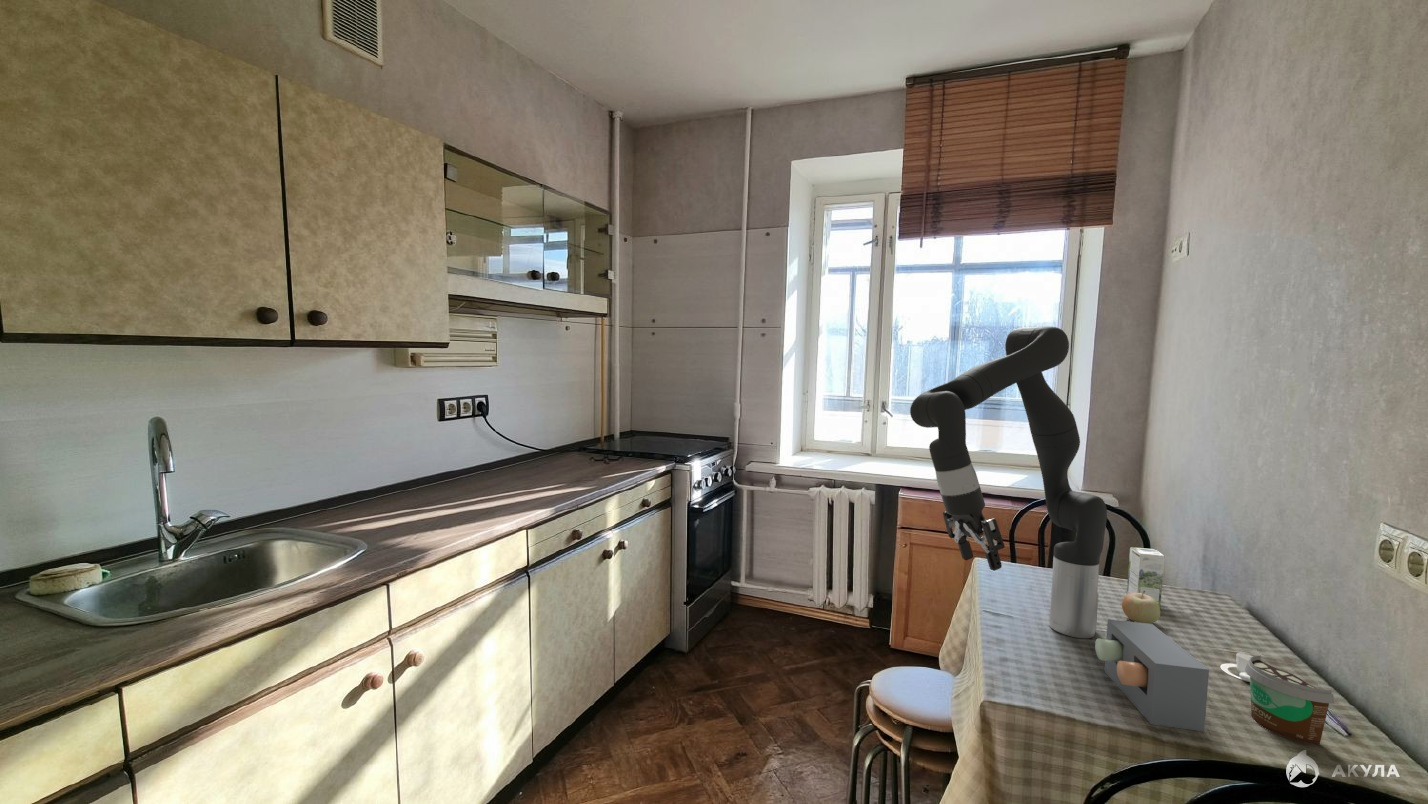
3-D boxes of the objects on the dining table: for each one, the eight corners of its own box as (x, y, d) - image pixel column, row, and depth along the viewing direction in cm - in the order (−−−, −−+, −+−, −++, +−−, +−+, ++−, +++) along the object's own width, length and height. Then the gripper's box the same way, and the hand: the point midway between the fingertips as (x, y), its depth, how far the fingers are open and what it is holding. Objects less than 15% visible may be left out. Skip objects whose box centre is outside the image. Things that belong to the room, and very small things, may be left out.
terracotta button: (1126, 688, 102) (1128, 667, 101) (1116, 677, 106) (1117, 656, 105) (1152, 692, 101) (1153, 670, 101) (1140, 680, 105) (1141, 659, 104)
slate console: (1151, 724, 99) (1155, 663, 98) (1104, 671, 116) (1107, 619, 116) (1204, 731, 97) (1209, 669, 96) (1148, 676, 115) (1152, 623, 114)
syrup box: (1149, 599, 155) (1153, 548, 154) (1161, 608, 149) (1165, 554, 148) (1125, 597, 156) (1129, 546, 155) (1136, 606, 150) (1140, 552, 149)
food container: (1222, 706, 105) (1226, 654, 104) (1252, 705, 105) (1257, 653, 105) (1296, 751, 92) (1301, 692, 92) (1330, 749, 93) (1335, 691, 92)
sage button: (1103, 663, 110) (1105, 643, 110) (1094, 653, 114) (1095, 634, 114) (1126, 666, 110) (1128, 646, 109) (1116, 656, 113) (1118, 637, 113)
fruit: (1147, 616, 144) (1149, 585, 143) (1165, 629, 137) (1167, 597, 136) (1114, 613, 145) (1116, 583, 145) (1130, 626, 138) (1132, 594, 137)
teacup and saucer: (1264, 691, 111) (1266, 671, 111) (1212, 673, 117) (1214, 654, 117) (1278, 679, 115) (1280, 660, 115) (1227, 662, 122) (1229, 643, 122)
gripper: (999, 485, 108) (1022, 566, 108) (953, 478, 121) (974, 549, 122) (966, 498, 106) (990, 579, 106) (923, 489, 120) (944, 561, 120)
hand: (981, 563), depth 114 cm, fingers open, 8 cm apart
